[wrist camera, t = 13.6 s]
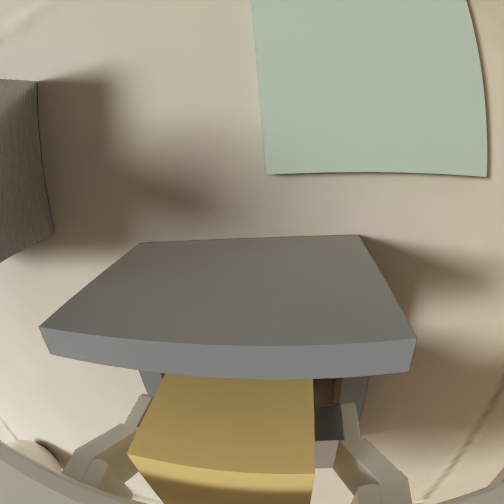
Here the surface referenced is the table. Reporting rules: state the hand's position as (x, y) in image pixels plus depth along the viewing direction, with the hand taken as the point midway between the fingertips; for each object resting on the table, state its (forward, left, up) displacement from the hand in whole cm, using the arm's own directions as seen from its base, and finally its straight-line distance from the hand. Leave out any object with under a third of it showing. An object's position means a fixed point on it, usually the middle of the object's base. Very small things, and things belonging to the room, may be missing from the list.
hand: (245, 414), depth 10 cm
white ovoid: (+17, -23, -3) cm, 29 cm away
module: (0, 0, -2) cm, 2 cm away
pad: (-12, +5, -3) cm, 13 cm away
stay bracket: (-10, -12, -3) cm, 16 cm away
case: (0, 0, -3) cm, 3 cm away
